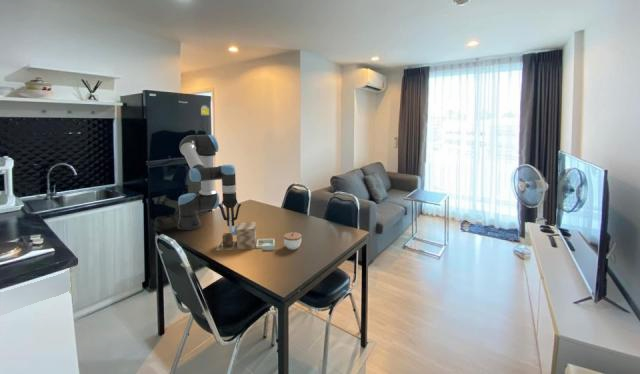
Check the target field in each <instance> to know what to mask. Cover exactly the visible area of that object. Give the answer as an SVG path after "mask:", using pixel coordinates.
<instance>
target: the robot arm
mask: <svg viewBox="0 0 640 374" xmlns="http://www.w3.org/2000/svg"><path fill="white" fill-rule="evenodd" d="M178 147H179V152H180V153H181V155H182V156H184V157H185V160H186V162H187V164H188V167H189V169H188V176H189V179H190V182H193V183H195V182H198V183H199V182H200V190H199V192H198V194H197V193H195V192H192V193H189V192H188V193H184V194H182V195H180V196H179V197H178V200H177V201H178V202H177V204H178V215H179V217H178V222H177V230H180V231H193V230H196V229H199V228H200V227H201V226H202V223H201V220H200V218H199V215H198V212H202V211H212V210H215V209H218V208H219V209H220V212H221V215H222V219H223V220H224V221H226V226H227V227H229V233H231V232H232V229H233V226H235V221H236V220H238V217H239V212H240V207H241V206H242V203H241V202H239V201H238V199H237V192H236V191H237V183H236V180H237V179H236V168H235V165H234V164H223V165H218V166H214V157H216V153H217V152H219V143H218V140H217V138H216V136H215V135H213V134H191V135H186V136H185V137H184V138H182V140H181V141H180V143H179V146H178ZM218 180H219V181H220V180H221V189H222V190H221V191H222V200H221V202H220V195H219V193H218V192H217V190H216V189H215V181H218ZM235 206H236V210H235ZM224 207H225V208H226V212H225V209H224ZM235 211H236V212H235ZM230 215H231V216H230Z"/></svg>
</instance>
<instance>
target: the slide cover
mask: <svg viewBox="0 0 640 374" xmlns="http://www.w3.org/2000/svg"><path fill="white" fill-rule="evenodd" d="M237 226H238V225H234V226H233V229H232V232H230V233H231V235H233V236H237V231H236V229H237Z"/></svg>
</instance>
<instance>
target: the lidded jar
mask: <svg viewBox="0 0 640 374" xmlns="http://www.w3.org/2000/svg"><path fill="white" fill-rule="evenodd" d="M283 243H284V246H285V248H287V249H288V250H290V251H291V250H292V251H293V250H294V251H295V250H297V249H298V248H299V247H300V245H301V243H302V234H301V233H299V232H287V233H285V234H284V235H283Z"/></svg>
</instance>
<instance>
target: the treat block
mask: <svg viewBox="0 0 640 374" xmlns="http://www.w3.org/2000/svg"><path fill="white" fill-rule="evenodd" d="M233 237H234V235H231V232H223V234H222V242H223V248H224V247H232V245H233V241H234V240H233Z"/></svg>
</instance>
